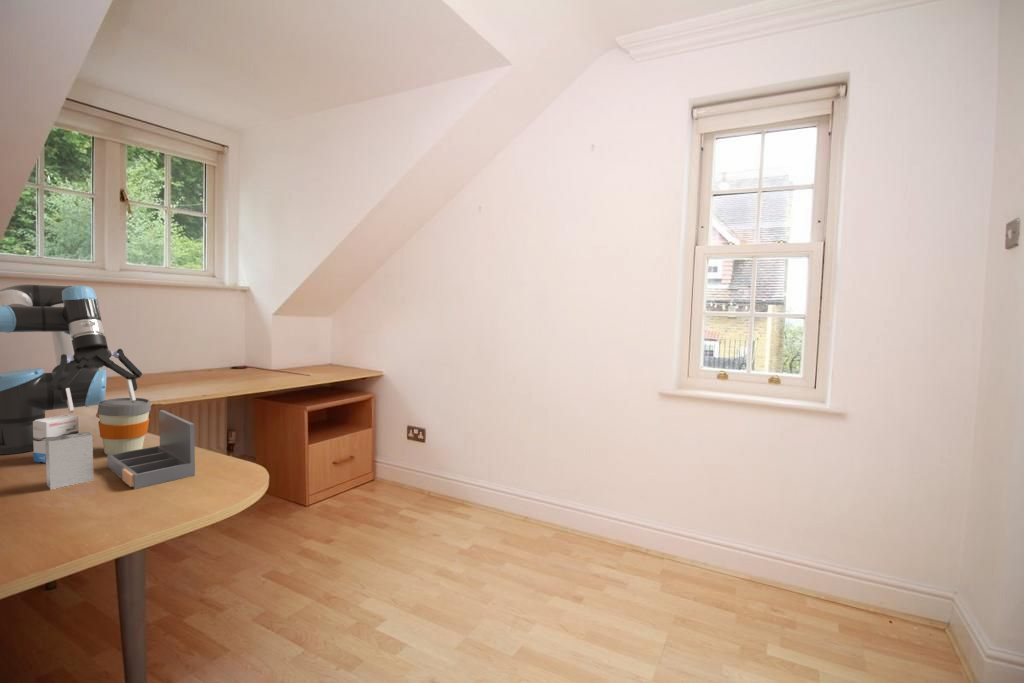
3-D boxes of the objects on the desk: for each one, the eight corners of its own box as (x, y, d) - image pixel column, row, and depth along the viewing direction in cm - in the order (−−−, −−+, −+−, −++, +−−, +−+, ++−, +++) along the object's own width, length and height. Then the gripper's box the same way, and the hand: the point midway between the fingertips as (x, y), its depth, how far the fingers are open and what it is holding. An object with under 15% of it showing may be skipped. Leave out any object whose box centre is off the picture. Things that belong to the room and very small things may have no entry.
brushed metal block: (46, 485, 117) (45, 438, 116) (89, 477, 124) (88, 431, 123) (50, 490, 115) (48, 441, 114) (93, 481, 121) (92, 435, 120)
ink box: (46, 464, 132) (45, 422, 131) (32, 462, 133) (31, 420, 132) (80, 454, 140) (79, 415, 139) (67, 453, 141) (65, 413, 140)
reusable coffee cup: (114, 460, 137) (115, 408, 136) (86, 451, 141) (87, 402, 140) (159, 449, 149) (161, 401, 147) (132, 441, 153) (133, 395, 152)
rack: (104, 468, 130) (103, 417, 129) (164, 456, 141) (163, 410, 140) (131, 489, 117) (130, 433, 116) (194, 475, 128) (194, 424, 127)
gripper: (29, 337, 128) (44, 413, 125) (143, 328, 147) (159, 394, 144) (27, 346, 132) (42, 419, 129) (138, 337, 151) (153, 400, 149)
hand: (103, 406), depth 137 cm, fingers open, 13 cm apart
